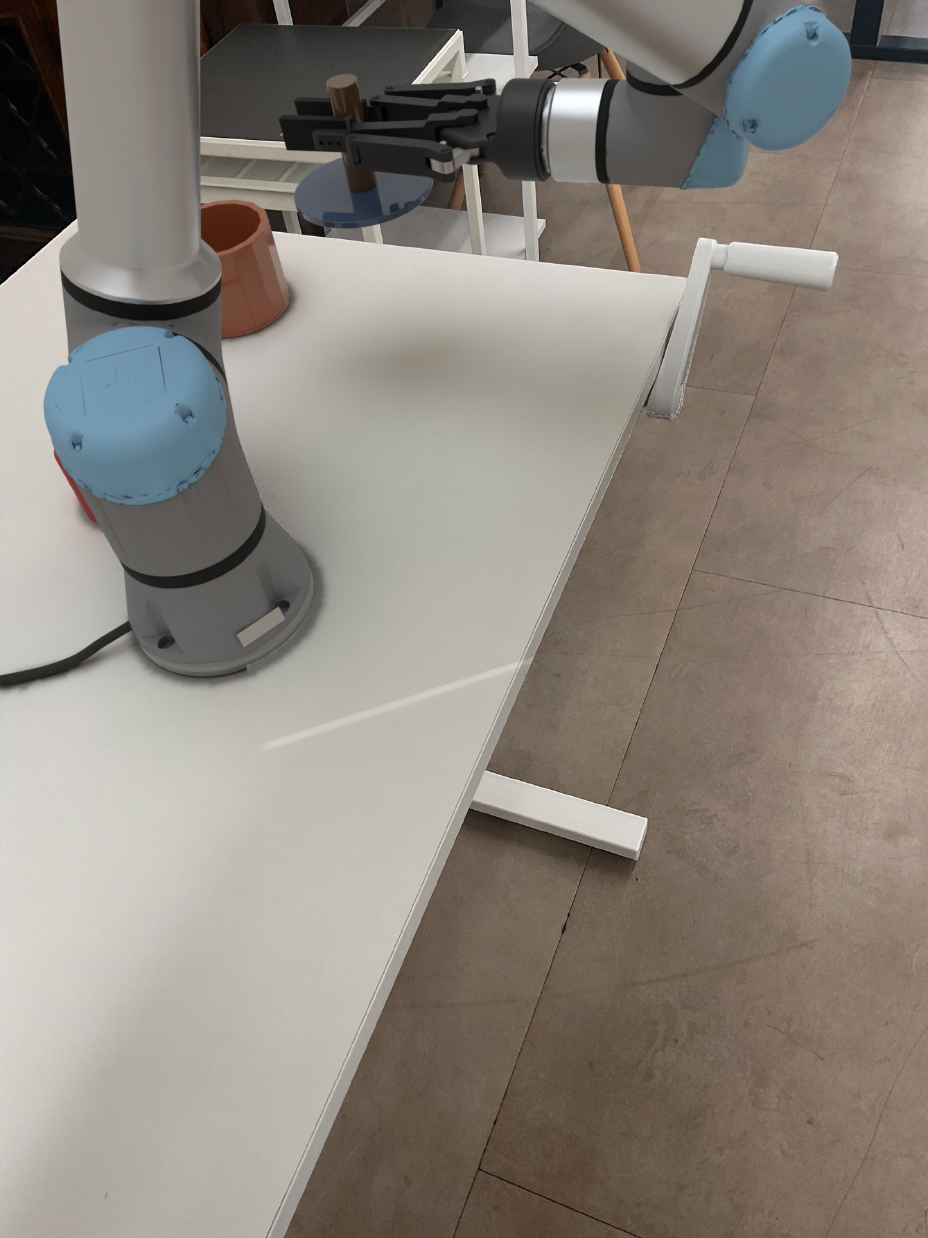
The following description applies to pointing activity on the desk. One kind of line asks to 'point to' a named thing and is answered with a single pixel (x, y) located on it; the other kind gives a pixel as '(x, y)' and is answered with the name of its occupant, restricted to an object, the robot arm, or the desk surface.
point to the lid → (355, 179)
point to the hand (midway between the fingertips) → (292, 123)
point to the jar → (245, 266)
